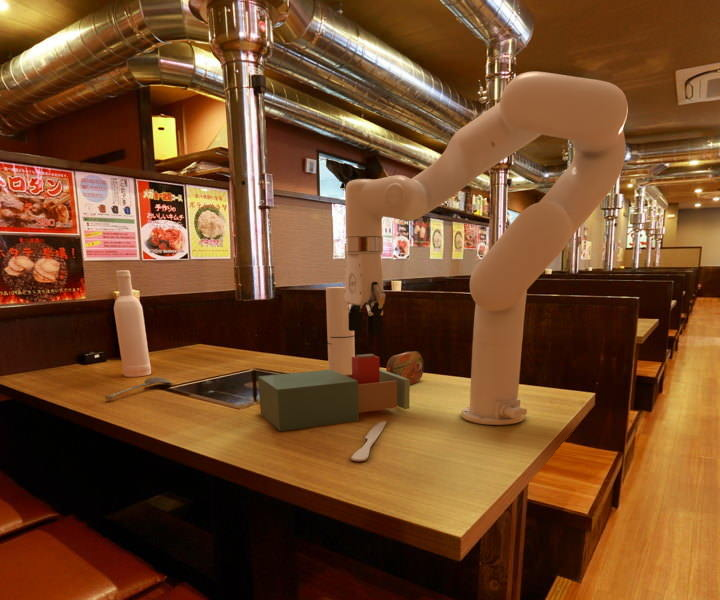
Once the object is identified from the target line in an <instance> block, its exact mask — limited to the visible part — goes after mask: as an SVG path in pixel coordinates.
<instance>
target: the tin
mask: <svg viewBox="0 0 720 600" xmlns="http://www.w3.org/2000/svg"><path fill="white" fill-rule="evenodd" d="M385 367H386V368H385V371H387V372H390V373H393V374H396V375H399V376H401V377H404V378H407V379H410V386H411V385H414V384H417V383H419V381H420V380H421V379H422V377H423V374H424V367H425V364H424V359H423V356H422V354H421V353H420V352H419V351H415V350H414V351H406V352H403V353H399V354H395V355H392V356H391V357H389V359H388V360H387V363H386V366H385Z"/></svg>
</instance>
